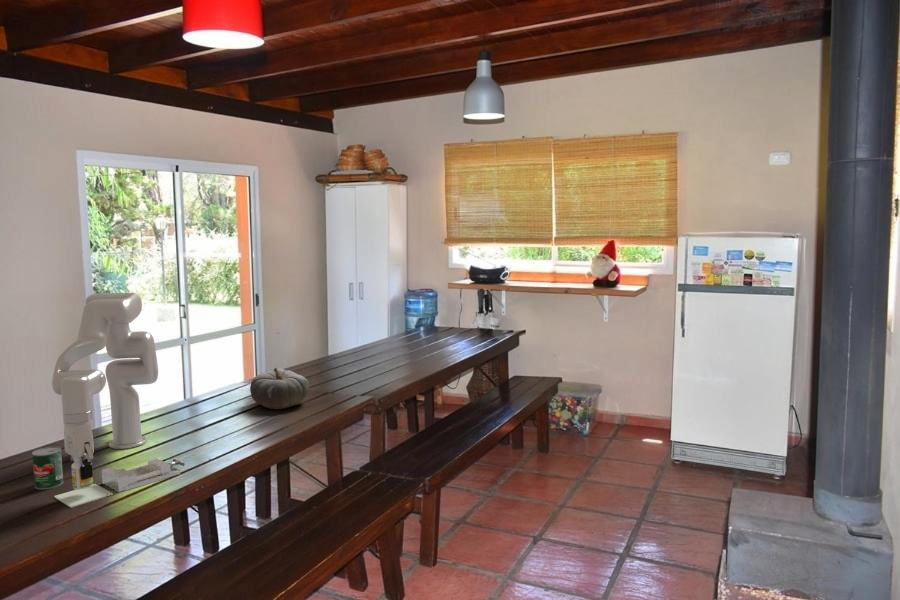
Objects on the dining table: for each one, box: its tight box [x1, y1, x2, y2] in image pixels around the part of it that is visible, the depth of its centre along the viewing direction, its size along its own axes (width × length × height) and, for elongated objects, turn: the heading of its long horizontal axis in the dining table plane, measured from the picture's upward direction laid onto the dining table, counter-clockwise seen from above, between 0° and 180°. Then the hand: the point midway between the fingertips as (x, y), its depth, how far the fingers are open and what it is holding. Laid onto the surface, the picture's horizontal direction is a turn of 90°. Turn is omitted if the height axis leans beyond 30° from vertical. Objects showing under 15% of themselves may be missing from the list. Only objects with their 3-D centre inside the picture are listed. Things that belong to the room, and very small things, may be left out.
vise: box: [101, 458, 186, 493], centre depth 221 cm, size 12×23×4 cm, turn 140°
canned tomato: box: [31, 446, 64, 490], centre depth 215 cm, size 8×8×11 cm
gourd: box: [249, 367, 310, 410], centre depth 304 cm, size 25×25×17 cm
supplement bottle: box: [70, 453, 94, 490], centre depth 206 cm, size 5×5×10 cm
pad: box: [53, 483, 114, 508], centre depth 206 cm, size 12×12×1 cm
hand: (82, 475), depth 206 cm, fingers closed on supplement bottle, 5 cm apart
